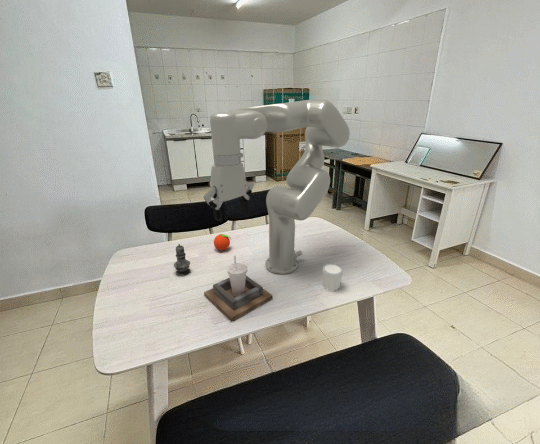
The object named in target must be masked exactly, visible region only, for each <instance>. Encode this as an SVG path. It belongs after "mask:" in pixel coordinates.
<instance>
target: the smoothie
mask: <svg viewBox="0 0 540 444" xmlns="http://www.w3.org/2000/svg"><path fill="white" fill-rule="evenodd" d="M233 261H234V262H233V263H231V264H230V265H229V266H228V265H227V268H226V272H227V274H228V278H230V283H231V288H232V292H233V295H234V296H235V297H237V296H239V295H241V294H243V293H244V290H245V281H246V275H247V273H248V266H247V265H246V264H245V263H241V262H237V257H236V255H233Z"/></svg>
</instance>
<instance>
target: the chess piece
mask: <svg viewBox="0 0 540 444" xmlns="http://www.w3.org/2000/svg"><path fill="white" fill-rule="evenodd" d="M175 253H176V254H175V257H176V262H174V263H173V267H174V268H175V275H176V276H178V277H184V276H187V275H189V274H190V273H191V269H190V264H191V261H190V260H187V259H186V252H185V248H184V245H181V244H180V243H179V244H178V245H176V247H175Z"/></svg>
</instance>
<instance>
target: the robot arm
mask: <svg viewBox="0 0 540 444" xmlns="http://www.w3.org/2000/svg"><path fill="white" fill-rule="evenodd" d="M209 123H210V126H209V127H210V133H211V134H210V135H211V145H212V154H213V156H212V157H213V165H212V166H211V169H210V170H211V171H210V190H209V191H208V192H206V193H205V194H204V195H203V200H205V203H206V204H207V205H208V206H209V207H210V208H212V211H213V213H212V214H213V218H214V220H215V221H217V222H219V223H222V222H223V210H222V209H221V207H222V204H223V203H224V202H227V201H231V200H234V199H238V198H239V209H240V211H242V212H244V213H246V214H247V213H249V200H250V196H251V195H252V191H253V188H254V183H252V182H249V181H247V178H246V177H247V176H246V171H245V168H244V164H243V162H242V158H243V157H244V154H243V152H241V140H244V139H245V140H255V139H258V138H259V139H260V137H263V135H265V133H266V132H267V133H284V132H290V131H291V132H292V131H294V130H299V129H303V128H305V132H304V133H305V134H304V138H305V139H304V141H305V142H304V143H305V146H304V147H305V148H304V152H303V154H302V155H301V156H300V158H299V159H298V161H297V162H296V163H295V164H294V166H293V167H292V168H291V169H290V171H289V172H288V174H287V176H286V185H287V186H283V185H277V186H272V188H271V189H269V191H268V192H267V194H266V196H265V197H266V199H265V204H266V208H267V213H268V228H269V229H268V234H269V236H268V237H269V239H268V244H269V245H268V247H269V249H268V250H269V255H268V258H267V259H266V260H265V266H264V267H265V268H266V270H267V271H269V272H271V273H273V274H275V275H276V274H277V275H288V274H291V273H293V272H295V271H296V270H297V269H298V266H299V263H298V261H297V258H298V257H300V256H302V255H303V252H302V250H301V249H299V250H297V251H296V250H295V240H296V239H295V237H296V222H295V220H296V221H304V220H307V219H308V218H309V217H310V216H311V215H312V214H313V212H314V211H315V210H316V209H317V207H318V206H319V204H320V203H321V202H322V200H323V199H324V197H325V196H326V194H327V192H328V190H329V189H330V184H331V177H330V174H329V172H328V171H326V170H325V169H323V166H324V164H325V154H324V151H323V146H324V147H331V148H336V149H337V148H338V149H339V148H343V147H344V146H346V144H347V143H348V141H349V139H350V135H351V133H350V128H349V125H348V124H347V122H346V121H345V119H344V116H343V115H342V114H341V112H340V111H339V110H338V108H337V107H336V106H335V105H334V104H333V103H332V102H331V101H329V100H326V99H306V100H298V101H297V100H296V101H289V102H281V103H273V104H265V105H259V106H258V105H257V106H249V107H242V108H234V109H231V110H228V111H227V112H223V111H222V112H214V113H212V114H211V115H210V117H209Z"/></svg>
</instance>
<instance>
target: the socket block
mask: <svg viewBox="0 0 540 444" xmlns="http://www.w3.org/2000/svg"><path fill="white" fill-rule="evenodd" d="M203 296H204V297H205V298H206V299H207V300H208V301H209V302H210V303H211V304H212V305H213V306H214V307H215V308H217V310H218V311H219V312H220V313H222V314H223V315H224V317H225V318H227V320H229V321H230V322H231V323H232V321H233V322H234V321H236V320H238V319H240V318H241V317H243V316H245V315H247V314H249V313H251V312H252V311H254V310H256V309H258V308H260V307H261V306H263V305H265V304H267V303H269V302H270V301H272V300H273V298H274V297H273V296H274V295H273V294H272V293H270V292H269V291H267V289H265V288H264V287H263V286H262V285H261V284H259V283H257V282H256V281H255V280H253V279H252V278H251V277H249V276H248V275H247V274H246V281H245V290H244V293H243V294H241V295H239V296H237V297H235V296H234V295H233V292H232V288H231V283H230V278H229V277H228V278H226V279H224V280H221V281H219V282H216V283H214V284H212V288H210V289H208V290H206V291H204V292H203Z"/></svg>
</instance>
